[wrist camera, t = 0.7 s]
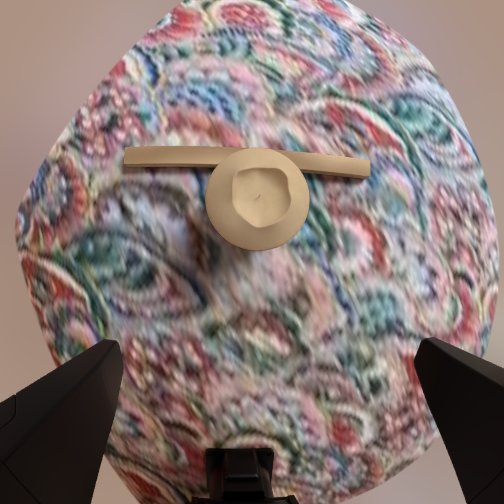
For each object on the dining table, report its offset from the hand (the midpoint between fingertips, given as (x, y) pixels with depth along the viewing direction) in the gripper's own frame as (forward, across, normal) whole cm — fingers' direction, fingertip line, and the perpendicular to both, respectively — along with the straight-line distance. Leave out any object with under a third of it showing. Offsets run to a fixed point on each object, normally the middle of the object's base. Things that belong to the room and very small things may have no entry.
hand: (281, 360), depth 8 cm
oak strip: (+19, 0, -4) cm, 19 cm away
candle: (+18, 0, 0) cm, 18 cm away
